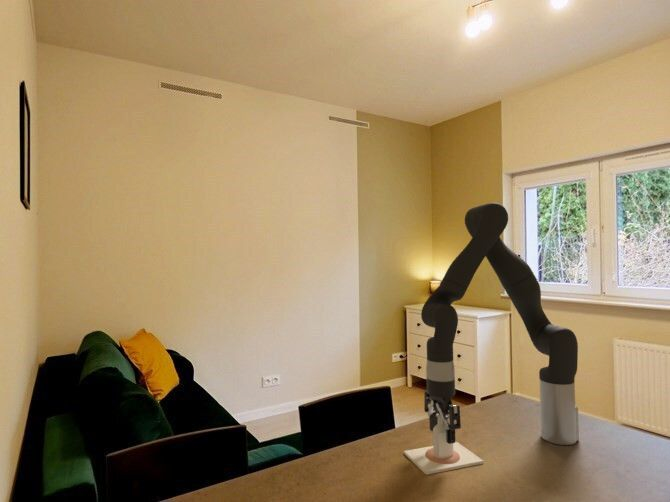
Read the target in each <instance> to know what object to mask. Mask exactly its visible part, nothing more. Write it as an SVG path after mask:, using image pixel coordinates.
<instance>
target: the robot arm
mask: <svg viewBox="0 0 670 502" xmlns="http://www.w3.org/2000/svg"><path fill="white" fill-rule="evenodd" d="M508 223H509V213H508V211H507V209H506V207H505V206H504V205H502V204H500V203H498V202H488V203H485V204H480V205H478V206H475V207H472V208H470V209H468V210H467V212H466V213H465V217H464V224H465V228H466V230H467V232H468V233H469V235H470V236H471V239H470V241H469V242H468V244H467V245H466V246H465V248H463V249H462V251H461V252H460V253H459V254H458V255H457V256H456V257H455V258H454V260H453V261H452V262H451V264H450V265H449V267H447V270H446V271H445V274H444V276H443V278H442V280H441V282H440V285H438V287H437V288H436V289H434V291H433V292H432V294H431V295H430V296H429V297H428V298H427V299H426V301H425V302H424V304H423V306H422V309H421V313H420V314H421V316H420V317H421V320H422V322H423V324H425V326H427V327H430V328H433V329H434V334H433V336H431V337H429V338H428V339H427V341H426V365H425V366H426V367H425V370H426V371H425V373H426V374H425V375H426V378H425V379H426V390H425V391H424V400H423V401H424V403H423V404H424V406H423V407H424V412H425V413H427V416H428V417H429V418H428V419H429V420H428V422H429V430H430V431H431V432H433V428H434V427H435V426H436V425H437V424H438V415H440V416H441V419H442V421H444V422H445V425H446V428H447V429H446V441H447V443H448V444H452V443H455V442H456V430H460V429H461V428H462V426H461V425H462V424H461V423H462V422H461V409H460V405H459V404H453V401H452V397H454V396H455V394H456V374H455V373H456V372H455V371H456V369H455V362H454V361H455V360H454V342H455V338H456V333H457V330H458V325H459V316H458V312H457V310H456V308H455V306H453V305H452V304H453V303H454V302H457V301H460V300H463V298H464V296H465V294H466V292H467V290H468V288H469V286H470V285H471V282H472V280H473V278H474V277H475V274H476V272H477V271H478V270H479V267H480V265H481V264H482V262H483V261H484V259H487V261H488V263H489V265H490V266H491V267H492V269H493V271H494V273H495V274H496V276H497V278H498V280H499V281H500V284H501V286H502V287H503V289H504V291H505V292H506V294H507V296H508V297H509V299H510V301H511V302H512V304H513V306H514V308H515V309H516V311H517V312H518V314H519V316H520V318H521V319H522V322H523V324H524V327H525V329H526V331H527V334H528V336H529V338H530V341H531V343H532V344H533V346H534V348H535V349H536V350H537V351H538V352H540V353H541V354H543V355H545V356H548V366H543V367H542V368H540V369H539V373H538V374H539V376H538V377H539V378H538V379H539V402H540V403H539V407H540V409H539V411H540V436H541V438H542V439H543V440H545V441H546V442H549V443H551V444H556V445H559V446H560V445H562V446H570V445H574V444H576V443H577V441H580V428H579V427H580V425H579V408H578V406H576V389H575V387H576V386H575V381H576V379H575V377H576V375H577V373H578V372H577V371H578V355H579V354H578V353H579V349H578V348H579V346H578V345H579V344H578V339H577V336H576V334H575V332H574V331H572V330H571V329H569V328H567V327H564V326H558V325H554V324H553V323H552V322H551V321H550V320H549V318H548V317H547V315H546V313H545V312H544V309H543V307H542V303H541V302H542V297H541V296H542V293H541V292H542V291H541V286H540V282H539V281H538V279H537V277H536V275H535V274H534V272H533V270H532V269H531V267H530V265H529V264H528V263H527V262H526V261H525V259H523V258H522V257H520V256H519V254H517V253H515V252H514V251H513V250H512V249H511V248H510V247H508V246H507V245H506V243H505V242H504V241H503V240H502V238H501V235H502V234H503V232H504V230H506V228H507V226H508Z"/></svg>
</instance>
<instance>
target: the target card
mask: <svg viewBox="0 0 670 502" xmlns="http://www.w3.org/2000/svg"><path fill="white" fill-rule="evenodd" d="M453 450H454V453H453V455H452V456H451V457H449V458H445V459H438V458H436V457H435V456H434V455H433V445H431V446H425V447H419V448H414V449H407V450H403V453H404V455H405V456H406V457H407V458H408V459H409V460H410V461H411V462H412V463H413V464H414V465H415V466H416V467H418V469H419V470H420V471H421V472H422V473H424V475H426V476H427V475H432V474H436V473H442V472H446V471H447V472H448V471H452V470H457V469H461V468H467V467H472V466H478V465H483V464H484V460H483V459H482V458H480V457H478V456H477V455H476V454H475V453H473V451H470V450H469V449H468V448H466V447H465V446H464V445H462V444H461V443H459V442H458V441H455V443H453Z"/></svg>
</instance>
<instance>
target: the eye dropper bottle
mask: <svg viewBox="0 0 670 502" xmlns="http://www.w3.org/2000/svg"><path fill="white" fill-rule="evenodd" d="M437 417H438V424H437V425H436V426H435V427H434V428H433V431H432V446H433V455H434V456H435V457H436V458H438V459H445V458H449V457H451V456H452V455H453V453H454V450H453V443H452V444H448V443H447V441H446V429H447V428H446V425H445V422H444V421H442V419H441V416H440V415H439V414H438V415H437Z"/></svg>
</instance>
